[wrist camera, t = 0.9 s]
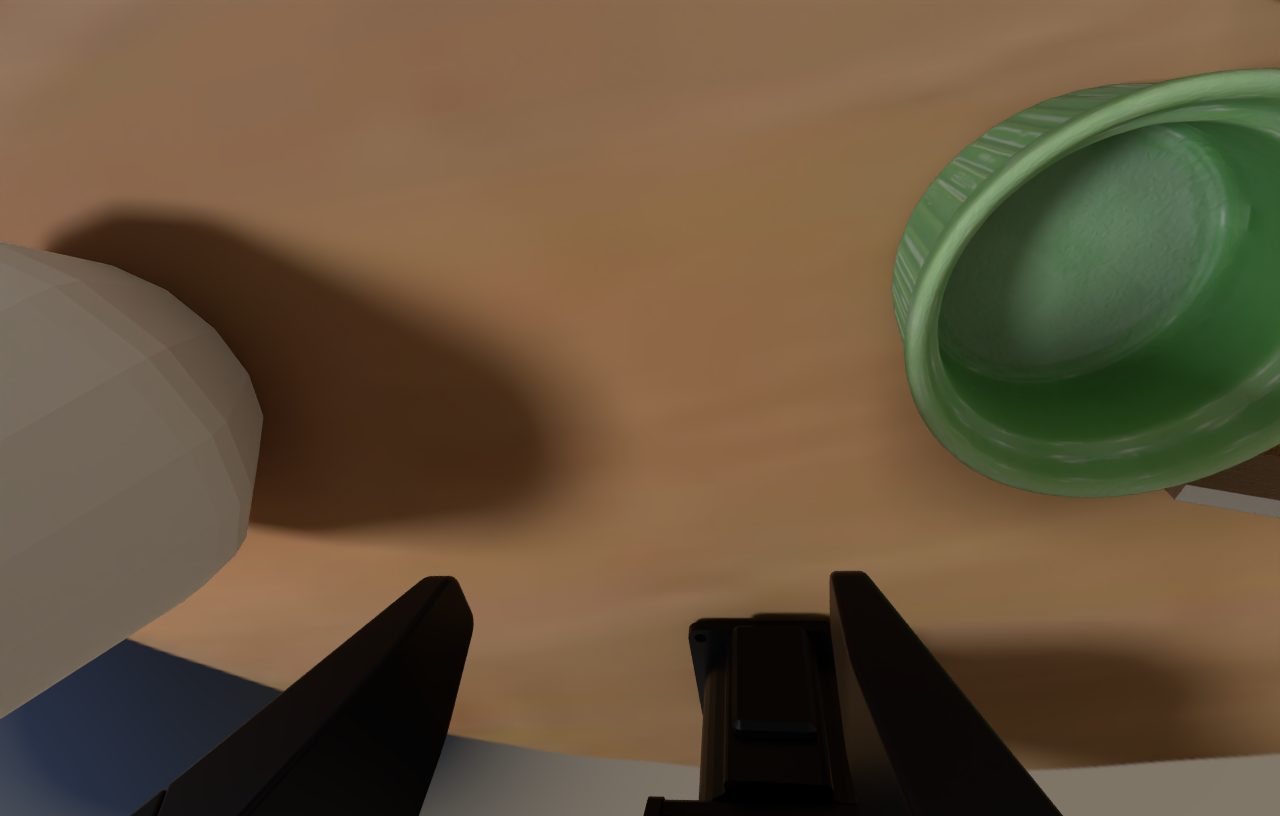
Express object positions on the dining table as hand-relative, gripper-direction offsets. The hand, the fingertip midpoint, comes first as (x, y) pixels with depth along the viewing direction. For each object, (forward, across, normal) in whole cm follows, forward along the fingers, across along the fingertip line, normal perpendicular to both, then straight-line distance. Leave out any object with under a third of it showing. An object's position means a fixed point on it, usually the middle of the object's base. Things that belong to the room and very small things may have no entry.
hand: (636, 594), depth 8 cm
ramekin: (+11, -10, 0) cm, 15 cm away
